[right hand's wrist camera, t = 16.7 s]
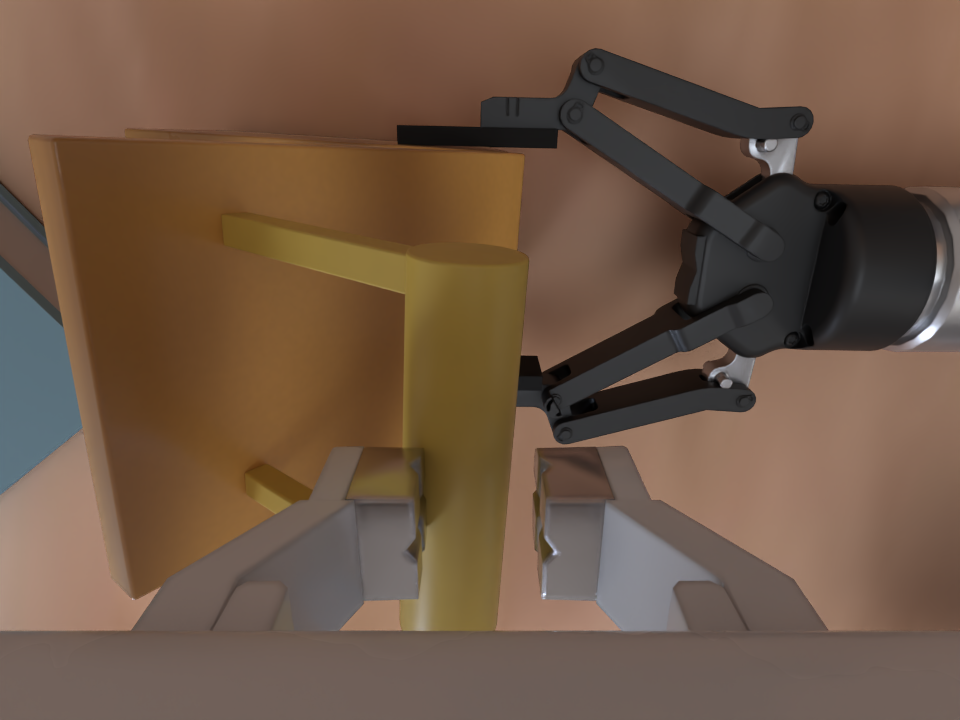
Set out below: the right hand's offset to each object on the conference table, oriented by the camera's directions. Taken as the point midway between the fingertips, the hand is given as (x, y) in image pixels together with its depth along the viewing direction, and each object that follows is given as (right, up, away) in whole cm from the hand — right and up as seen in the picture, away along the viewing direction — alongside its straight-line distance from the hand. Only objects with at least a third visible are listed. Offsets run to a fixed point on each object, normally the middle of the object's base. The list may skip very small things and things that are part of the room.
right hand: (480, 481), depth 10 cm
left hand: (-4, +7, +17) cm, 19 cm away
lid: (-4, +3, +8) cm, 10 cm away
